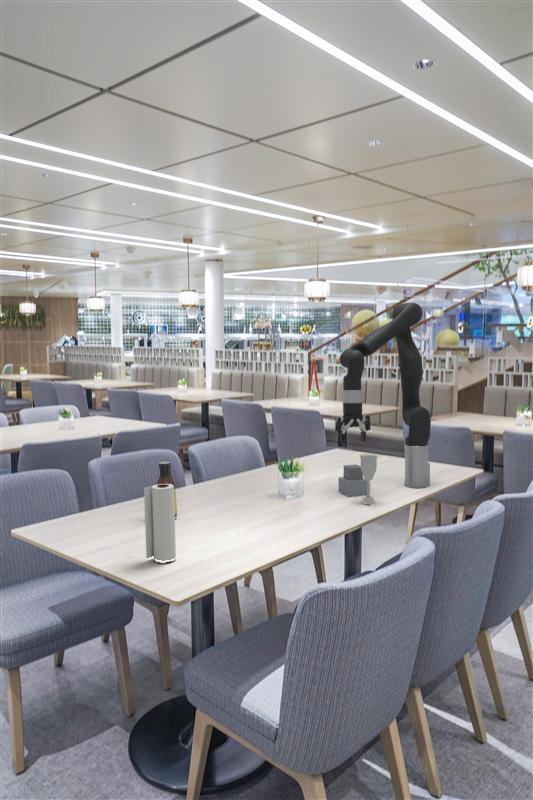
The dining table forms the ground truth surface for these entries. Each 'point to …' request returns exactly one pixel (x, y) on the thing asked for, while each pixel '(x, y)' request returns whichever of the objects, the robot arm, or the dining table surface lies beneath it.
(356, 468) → the grey stepped block
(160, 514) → the paper towel roll
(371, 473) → the chalice
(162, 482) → the sauce bottle
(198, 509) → the dining table surface
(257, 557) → the dining table surface
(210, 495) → the dining table surface
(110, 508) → the dining table surface
